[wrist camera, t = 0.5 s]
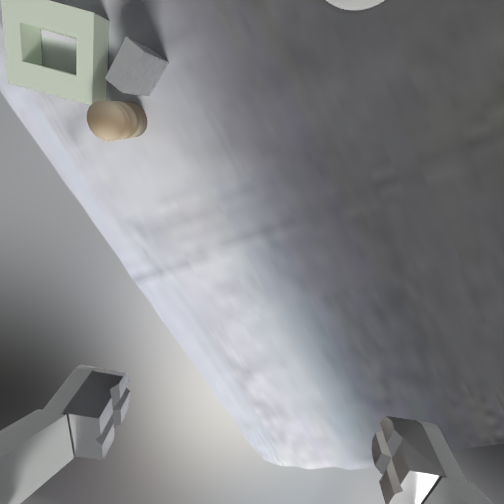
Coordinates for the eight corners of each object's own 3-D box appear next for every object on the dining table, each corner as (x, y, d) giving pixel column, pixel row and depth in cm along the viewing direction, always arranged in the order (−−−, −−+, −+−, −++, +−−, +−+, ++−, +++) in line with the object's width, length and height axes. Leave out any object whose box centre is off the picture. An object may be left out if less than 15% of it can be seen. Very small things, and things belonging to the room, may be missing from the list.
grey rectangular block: (135, 84, 46) (104, 78, 38) (154, 50, 44) (126, 36, 36) (149, 96, 46) (122, 92, 38) (168, 62, 44) (144, 51, 36)
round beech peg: (116, 98, 47) (87, 95, 40) (148, 106, 47) (125, 105, 40) (114, 132, 49) (86, 135, 42) (145, 140, 49) (123, 145, 42)
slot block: (23, -4, 42) (-1, -14, 39) (109, 21, 43) (93, 12, 39) (28, 85, 47) (7, 83, 43) (106, 106, 47) (92, 105, 44)
